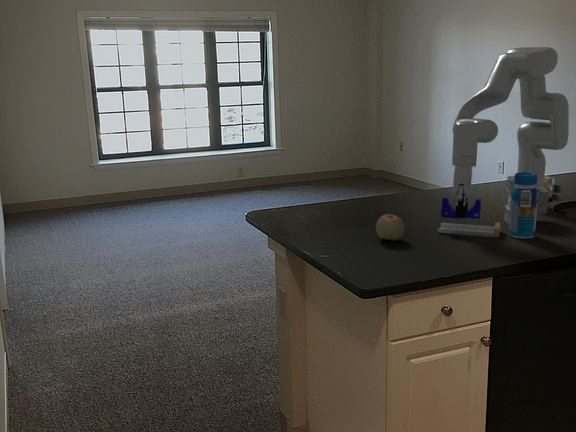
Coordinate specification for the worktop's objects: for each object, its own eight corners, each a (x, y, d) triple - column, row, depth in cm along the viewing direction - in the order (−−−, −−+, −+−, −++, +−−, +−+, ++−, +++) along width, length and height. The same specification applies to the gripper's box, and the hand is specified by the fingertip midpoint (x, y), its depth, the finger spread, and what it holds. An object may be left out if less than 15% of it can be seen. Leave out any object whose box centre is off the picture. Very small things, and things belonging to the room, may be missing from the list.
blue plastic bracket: (440, 217, 207) (441, 199, 206) (442, 214, 211) (443, 196, 210) (479, 220, 203) (480, 201, 202) (480, 216, 207) (481, 198, 206)
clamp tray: (508, 191, 264) (508, 184, 263) (551, 193, 258) (552, 186, 257) (507, 195, 256) (507, 188, 256) (551, 198, 250) (552, 190, 250)
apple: (382, 235, 207) (382, 211, 205) (408, 238, 203) (408, 214, 201) (371, 242, 200) (372, 217, 198) (398, 245, 195) (399, 220, 193)
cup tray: (517, 182, 280) (518, 175, 279) (553, 184, 275) (554, 177, 274) (516, 189, 267) (516, 182, 266) (554, 191, 262) (554, 184, 261)
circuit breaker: (551, 224, 215) (554, 180, 211) (506, 223, 217) (509, 180, 214) (547, 218, 222) (550, 176, 218) (504, 217, 224) (507, 175, 221)
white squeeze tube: (440, 227, 214) (441, 218, 214) (500, 231, 208) (500, 222, 207) (437, 233, 208) (437, 224, 207) (498, 237, 201) (499, 228, 200)
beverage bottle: (502, 235, 204) (506, 174, 198) (517, 230, 208) (521, 170, 203) (525, 241, 197) (530, 177, 192) (541, 235, 202) (546, 174, 197)
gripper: (455, 155, 212) (452, 209, 216) (448, 164, 196) (446, 221, 201) (478, 156, 209) (475, 210, 213) (473, 165, 194) (470, 223, 198)
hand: (461, 215), depth 207 cm, fingers closed on blue plastic bracket, 4 cm apart
